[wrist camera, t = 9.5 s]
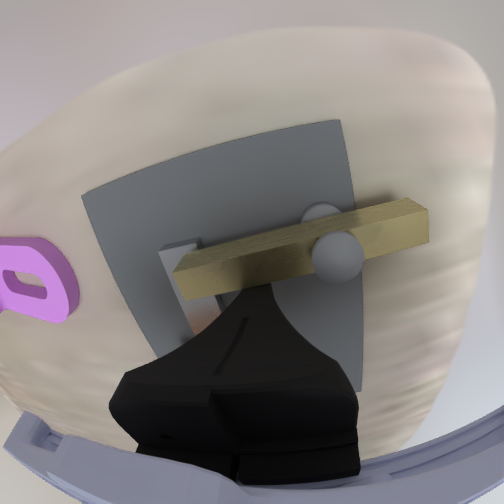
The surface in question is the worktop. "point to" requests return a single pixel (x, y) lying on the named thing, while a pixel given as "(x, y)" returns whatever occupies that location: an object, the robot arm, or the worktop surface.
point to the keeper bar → (298, 248)
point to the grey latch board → (240, 232)
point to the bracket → (47, 269)
